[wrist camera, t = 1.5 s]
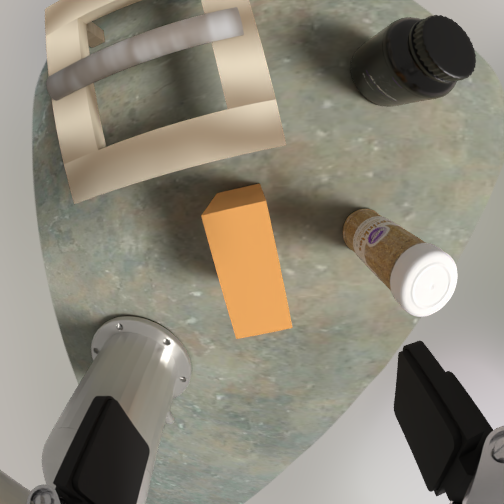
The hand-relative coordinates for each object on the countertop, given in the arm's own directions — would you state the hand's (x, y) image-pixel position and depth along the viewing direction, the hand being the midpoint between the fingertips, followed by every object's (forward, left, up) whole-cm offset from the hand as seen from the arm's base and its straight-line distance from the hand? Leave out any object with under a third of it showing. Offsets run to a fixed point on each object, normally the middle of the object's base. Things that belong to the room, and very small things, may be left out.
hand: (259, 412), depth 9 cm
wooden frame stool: (+16, +4, -22) cm, 27 cm away
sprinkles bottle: (-2, -11, -22) cm, 25 cm away
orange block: (0, 0, -22) cm, 22 cm away
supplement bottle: (+13, -16, -22) cm, 30 cm away
